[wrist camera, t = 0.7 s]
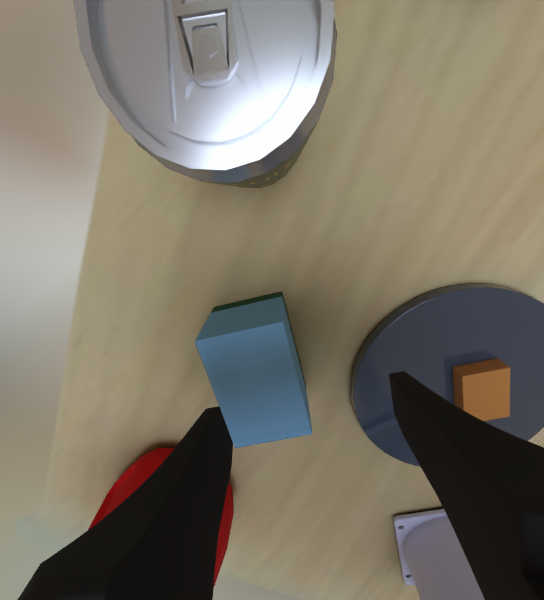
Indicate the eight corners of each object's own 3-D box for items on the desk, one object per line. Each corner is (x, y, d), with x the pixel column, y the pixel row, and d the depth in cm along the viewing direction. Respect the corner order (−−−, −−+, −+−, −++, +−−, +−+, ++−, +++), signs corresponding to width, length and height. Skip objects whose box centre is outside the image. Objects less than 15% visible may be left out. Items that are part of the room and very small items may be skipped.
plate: (555, 440, 24) (567, 450, 23) (365, 471, 25) (369, 482, 24) (569, 258, 19) (585, 262, 18) (333, 311, 20) (336, 317, 20)
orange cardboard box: (498, 405, 22) (510, 416, 20) (454, 412, 22) (464, 424, 21) (497, 357, 20) (510, 367, 19) (451, 366, 21) (462, 376, 19)
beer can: (197, 89, 16) (13, -146, 5) (297, 74, 16) (342, -213, 5) (215, 193, 18) (109, 196, 7) (305, 182, 18) (351, 166, 6)
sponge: (305, 383, 22) (312, 434, 18) (244, 395, 23) (234, 448, 18) (282, 291, 20) (282, 321, 15) (213, 307, 21) (194, 341, 16)
